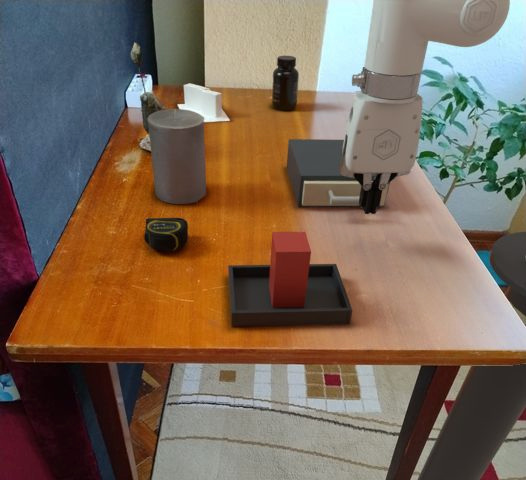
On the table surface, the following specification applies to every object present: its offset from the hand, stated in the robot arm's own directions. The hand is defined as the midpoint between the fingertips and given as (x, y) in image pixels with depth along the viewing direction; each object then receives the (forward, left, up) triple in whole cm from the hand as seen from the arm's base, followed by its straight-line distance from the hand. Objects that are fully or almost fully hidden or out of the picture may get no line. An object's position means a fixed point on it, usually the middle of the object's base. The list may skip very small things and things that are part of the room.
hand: (367, 210), depth 78 cm
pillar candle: (+31, -19, -6) cm, 37 cm away
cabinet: (+1, -22, -6) cm, 23 cm away
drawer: (+1, -18, -5) cm, 19 cm away
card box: (+15, +15, -6) cm, 22 cm away
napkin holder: (+27, -66, -6) cm, 71 cm away
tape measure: (+33, -1, -6) cm, 33 cm away
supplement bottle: (+5, -71, -6) cm, 71 cm away
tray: (+15, +15, -6) cm, 22 cm away
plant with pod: (+37, -41, -6) cm, 55 cm away
